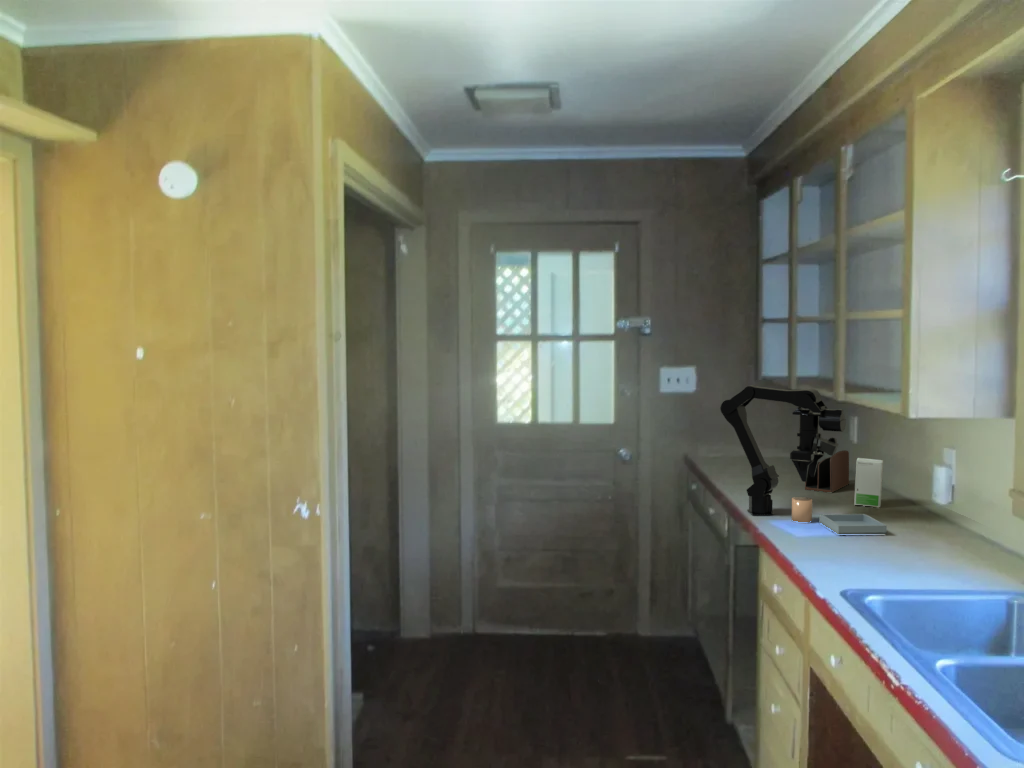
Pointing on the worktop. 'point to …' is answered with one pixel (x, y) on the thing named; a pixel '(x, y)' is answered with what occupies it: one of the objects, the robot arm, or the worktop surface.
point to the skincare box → (868, 482)
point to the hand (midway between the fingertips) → (808, 479)
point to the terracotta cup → (801, 509)
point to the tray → (853, 524)
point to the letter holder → (830, 473)
